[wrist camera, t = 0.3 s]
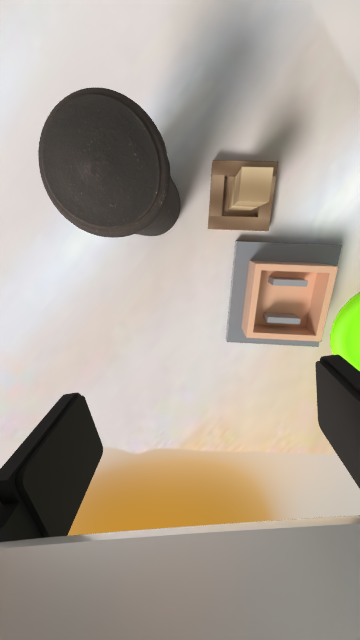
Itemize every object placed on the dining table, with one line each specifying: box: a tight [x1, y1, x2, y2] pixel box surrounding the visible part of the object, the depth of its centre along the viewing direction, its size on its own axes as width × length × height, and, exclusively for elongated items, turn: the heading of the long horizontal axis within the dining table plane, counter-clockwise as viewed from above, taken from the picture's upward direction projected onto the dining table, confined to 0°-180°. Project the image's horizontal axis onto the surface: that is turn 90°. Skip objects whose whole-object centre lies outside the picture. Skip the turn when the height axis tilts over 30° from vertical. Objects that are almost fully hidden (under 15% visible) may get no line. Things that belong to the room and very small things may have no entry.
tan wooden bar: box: [228, 167, 273, 210], centre depth 29 cm, size 3×3×9 cm
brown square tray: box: [208, 160, 278, 231], centre depth 33 cm, size 8×8×2 cm
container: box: [39, 88, 180, 237], centre depth 25 cm, size 9×9×20 cm
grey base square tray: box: [226, 241, 342, 347], centre depth 35 cm, size 15×14×5 cm
